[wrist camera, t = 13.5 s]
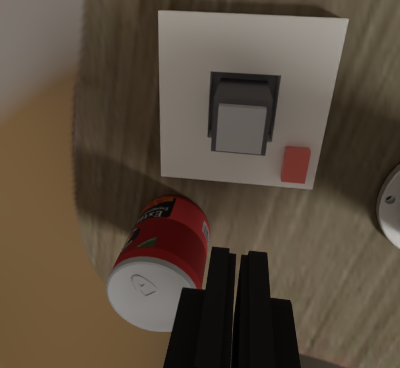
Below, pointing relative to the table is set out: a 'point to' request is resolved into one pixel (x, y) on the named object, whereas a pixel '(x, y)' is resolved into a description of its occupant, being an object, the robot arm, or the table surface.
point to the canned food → (159, 263)
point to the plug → (241, 116)
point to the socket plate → (249, 70)
